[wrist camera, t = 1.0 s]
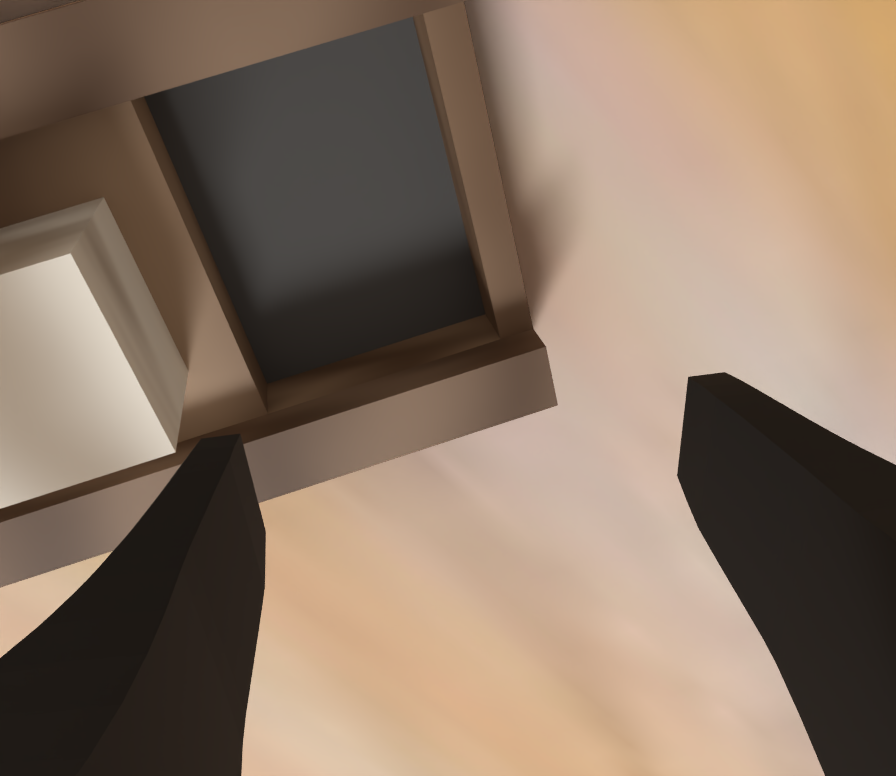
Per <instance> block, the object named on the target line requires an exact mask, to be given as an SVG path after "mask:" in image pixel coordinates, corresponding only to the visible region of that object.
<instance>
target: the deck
mask: <svg viewBox="0 0 896 776" xmlns="http://www.w3.org/2000/svg"><path fill="white" fill-rule="evenodd" d="M464 1H467V0H79V1H76V2H72V3H69V4H65V5H62V6H58V7H55V8H51V9H48V10H45V11H41V12H38V13H34V14H31V15H27V16H24V17H20V18H17V19H13V20H10V21H6V22H3V23H0V228H3V227H7V226H10V225H13V224H16V223H20V222H23V221H26V220H30V219H33V218H36V217H40V216H43V215H46V214H49V213H53V212H56V211H59V210H63V209H66V208H69V207H73V206H76V205H79V204H82V203H86V202H89V201H92V200H96V199H99V198H102V197H104V199H105V201H106V203H107V205H108V207H109V209H110V211H111V213H112V215H113V217H114V219H115V221H116V223H117V225H118V227H119V229H120V232H121V234H122V236H123V238H124V240H125V242H126V244H127V246H128V248H129V250H130V252H131V254H132V256H133V258H134V260H135V262H136V264H137V267H138V269H139V271H140V273H141V275H142V277H143V279H144V281H145V283H146V285H147V287H148V289H149V291H150V293H151V295H152V297H153V300H154V302H155V304H156V306H157V308H158V310H159V312H160V314H161V316H162V318H163V320H164V322H165V324H166V326H167V328H168V330H169V332H170V335H171V337H172V339H173V341H174V343H175V345H176V347H177V349H178V351H179V353H180V355H181V357H182V359H183V361H184V363H185V365H186V368H187V370H188V377H187V384H186V390H185V396H184V403H183V409H182V415H181V422H180V428H179V434H178V440H177V447H176V452H175V453H172V454H169V455H166V456H163V457H160V458H157V459H153V460H150V461H147V462H144V463H141V464H138V465H135V466H132V467H129V468H125V469H122V470H119V471H116V472H113V473H110V474H107V475H104V476H101V477H98V478H94V479H91V480H88V481H85V482H82V483H79V484H76V485H73V486H70V487H66V488H63V489H60V490H57V491H54V492H51V493H48V494H45V495H42V496H38V497H35V498H32V499H29V500H26V501H23V502H20V503H17V504H14V505H10V506H7V507H4V508H1V509H0V587H3V586H6V585H9V584H12V583H16V582H19V581H22V580H25V579H28V578H31V577H34V576H37V575H40V574H43V573H46V572H49V571H52V570H55V569H58V568H61V567H64V566H67V565H71V564H74V563H77V562H80V561H83V560H86V559H89V558H92V557H95V556H98V555H101V554H104V553H107V552H110V551H113V550H115V548H116V547H117V546H118V545H119V544H120V543H121V542H122V540H123V539H124V538H125V537H126V536H127V535H128V533H129V532H130V531H131V530H132V528H133V527H134V526H135V525H136V523H137V522H138V521H139V520H140V518H141V517H142V516H143V515H144V513H145V512H146V511H147V509H148V508H149V507H150V506H151V504H152V503H153V502H154V501H155V499H156V498H157V497H158V495H159V494H160V493H161V491H162V490H163V489H164V487H165V486H166V485H167V483H168V482H169V481H170V479H171V478H172V477H173V475H174V474H175V472H176V471H177V470H178V468H179V467H180V466H181V464H182V463H183V462H184V460H185V459H186V457H187V456H188V455H189V453H190V452H191V451H192V449H193V448H194V447H195V445H196V444H197V443H198V442H199V441H200V439H201V438H209V437H217V436H225V435H233V434H241V438H242V442H243V445H244V449H245V453H246V457H247V461H248V465H249V469H250V473H251V476H252V480H253V484H254V488H255V492H256V496H257V500H258V503H260V502H263V501H266V500H269V499H272V498H275V497H279V496H282V495H285V494H288V493H291V492H294V491H297V490H300V489H303V488H306V487H309V486H312V485H315V484H318V483H321V482H324V481H327V480H331V479H334V478H337V477H340V476H343V475H346V474H349V473H352V472H355V471H358V470H361V469H364V468H367V467H370V466H373V465H376V464H379V463H383V462H386V461H389V460H392V459H395V458H398V457H401V456H404V455H407V454H410V453H413V452H416V451H419V450H422V449H425V448H428V447H431V446H435V445H438V444H441V443H444V442H447V441H450V440H453V439H456V438H459V437H462V436H465V435H468V434H471V433H474V432H477V431H480V430H483V429H486V428H490V427H493V426H496V425H499V424H502V423H505V422H508V421H511V420H514V419H517V418H520V417H523V416H526V415H529V414H532V413H535V412H538V411H542V410H545V409H548V408H551V407H554V406H557V405H558V404H557V399H556V394H555V389H554V384H553V379H552V374H551V370H550V365H549V360H548V355H547V350H546V346H545V345H544V343H543V342H542V341H541V339H540V338H539V336H538V335H537V333H536V332H535V331H534V329H533V326H532V321H531V316H530V312H529V307H528V302H527V297H526V293H525V288H524V283H523V278H522V274H521V269H520V264H519V260H518V255H517V250H516V245H515V241H514V236H513V231H512V226H511V222H510V217H509V212H508V208H507V203H506V198H505V193H504V189H503V184H502V179H501V174H500V170H499V165H498V160H497V156H496V151H495V146H494V141H493V137H492V132H491V127H490V122H489V118H488V113H487V108H486V104H485V99H484V94H483V89H482V85H481V80H480V75H479V71H478V66H477V61H476V56H475V52H474V47H473V42H472V37H471V33H470V28H469V23H468V19H467V14H466V9H465V4H464Z"/></svg>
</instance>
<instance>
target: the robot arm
mask: <svg viewBox="0 0 896 776" xmlns="http://www.w3.org/2000/svg"><path fill="white" fill-rule="evenodd" d="M677 476H678V479H679V482H680V484H681V487H682V489H683V492H684V494H685V497H686V500H687V502H688V505H689V507H690V509H691V512H692V514H693V516H694V519H695V521H696V523H697V526H698V528H699V530H700V531H701V533H702V535H703V537H704V539H705V540H706V542H707V544H708V546H709V547H710V549H711V551H712V553H713V554H714V556H715V558H716V559H717V561H718V563H719V565H720V566H721V568H722V570H723V571H724V573H725V575H726V577H727V578H728V580H729V582H730V583H731V585H732V587H733V588H734V590H735V592H736V593H737V595H738V597H739V599H740V600H741V602H742V604H743V605H744V607H745V609H746V610H747V612H748V614H749V616H750V617H751V619H752V621H753V622H754V624H755V626H756V627H757V629H758V631H759V632H760V634H761V636H762V638H763V639H764V641H765V643H766V645H767V647H768V649H769V651H770V653H771V654H772V656H773V658H774V660H775V662H776V664H777V666H778V668H779V671H780V673H781V675H782V677H783V679H784V682H785V684H786V686H787V688H788V691H789V693H790V695H791V697H792V699H793V702H794V704H795V706H796V708H797V710H798V713H799V715H800V717H801V719H802V722H803V724H804V726H805V729H806V731H807V734H808V736H809V738H810V741H811V743H812V745H813V748H814V750H815V753H816V755H817V757H818V760H819V762H820V764H821V767H822V769H823V771H824V774H825V776H896V465H895V464H893V463H891V462H889V461H887V460H885V459H883V458H881V457H879V456H877V455H875V454H873V453H871V452H868V451H866V450H864V449H862V448H860V447H858V446H857V445H855V444H853V443H851V442H849V441H847V440H845V439H843V438H841V437H840V436H838V435H836V434H834V433H832V432H830V431H829V430H827V429H825V428H823V427H821V426H820V425H818V424H816V423H814V422H812V421H811V420H809V419H807V418H805V417H804V416H802V415H800V414H798V413H797V412H795V411H793V410H792V409H790V408H788V407H786V406H785V405H783V404H781V403H780V402H778V401H776V400H774V399H773V398H771V397H769V396H767V395H766V394H764V393H762V392H761V391H759V390H757V389H755V388H754V387H752V386H750V385H748V384H746V383H745V382H743V381H741V380H739V379H737V378H735V377H733V376H731V375H729V374H727V373H725V372H723V373H715V374H707V375H700V376H692V377H688V384H687V393H686V402H685V411H684V420H683V429H682V438H681V447H680V456H679V465H678V473H677ZM265 542H266V531H265V527H264V523H263V519H262V515H261V511H260V508H259V504H258V500H257V496H256V492H255V488H254V484H253V480H252V476H251V473H250V469H249V465H248V461H247V457H246V453H245V449H244V445H243V442H242V438H241V434H233V435H225V436H217V437H209V438H201V439H200V441H199V442H198V443H197V444H196V445H195V447H194V448H193V449H192V451H191V452H190V453H189V455H188V456H187V457H186V459H185V460H184V462H183V463H182V464H181V466H180V467H179V468H178V470H177V471H176V472H175V474H174V475H173V477H172V478H171V479H170V481H169V482H168V483H167V485H166V486H165V487H164V489H163V490H162V491H161V493H160V494H159V495H158V497H157V498H156V499H155V501H154V502H153V503H152V504H151V506H150V507H149V508H148V509H147V511H146V512H145V513H144V515H143V516H142V517H141V518H140V520H139V521H138V522H137V523H136V525H135V526H134V527H133V528H132V530H131V531H130V532H129V533H128V535H127V536H126V537H125V538H124V539H123V540H122V542H121V543H120V544H119V545H118V546H117V547H116V548H115V550H114V551H113V552H112V553H111V554H110V555H109V556H108V558H107V559H106V560H105V561H104V562H103V563H102V564H101V566H100V567H99V568H98V569H97V570H96V571H95V572H94V573H93V574H92V575H91V576H90V578H89V579H88V580H87V581H86V582H85V583H84V584H83V585H82V586H81V587H80V588H79V589H78V590H77V591H76V592H75V593H74V594H73V595H72V596H71V597H69V598H68V599H67V600H66V601H65V602H64V603H63V604H62V605H61V606H60V607H59V608H58V609H57V610H56V611H55V612H54V613H53V614H52V615H51V616H49V617H48V618H47V619H46V620H45V621H44V622H43V623H42V624H41V625H39V626H38V627H37V628H36V629H35V630H34V631H32V632H31V633H30V634H29V635H28V636H26V637H25V638H24V639H23V640H22V641H20V642H19V643H18V644H17V645H16V646H14V647H13V648H12V649H11V650H10V651H8V652H7V653H6V654H5V655H3V656H2V657H1V658H0V776H241V769H242V747H243V736H244V727H245V717H246V710H247V703H248V697H249V690H250V684H251V677H252V670H253V664H254V657H255V651H256V644H257V638H258V631H259V624H260V617H261V610H262V603H263V596H264V589H265Z"/></svg>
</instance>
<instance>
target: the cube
mask: <svg viewBox="0 0 896 776" xmlns="http://www.w3.org/2000/svg"><path fill="white" fill-rule="evenodd" d="M187 377H188V370H187V368H186V365H185V363H184V361H183V359H182V357H181V355H180V353H179V351H178V349H177V347H176V345H175V343H174V341H173V339H172V337H171V335H170V332H169V330H168V328H167V326H166V324H165V322H164V320H163V318H162V316H161V314H160V312H159V310H158V308H157V306H156V304H155V302H154V300H153V297H152V295H151V293H150V291H149V289H148V287H147V285H146V283H145V281H144V279H143V277H142V275H141V273H140V271H139V269H138V267H137V264H136V262H135V260H134V258H133V256H132V254H131V252H130V250H129V248H128V246H127V244H126V242H125V240H124V238H123V236H122V234H121V232H120V229H119V227H118V225H117V223H116V221H115V219H114V217H113V215H112V213H111V211H110V209H109V207H108V205H107V203H106V201H105V199H104V197H102V198H99V199H96V200H92V201H89V202H86V203H82V204H79V205H76V206H73V207H69V208H66V209H63V210H59V211H56V212H53V213H49V214H46V215H43V216H40V217H36V218H33V219H30V220H26V221H23V222H20V223H16V224H13V225H10V226H7V227H3V228H0V509H1V508H4V507H7V506H10V505H14V504H17V503H20V502H23V501H26V500H29V499H32V498H35V497H38V496H42V495H45V494H48V493H51V492H54V491H57V490H60V489H63V488H66V487H70V486H73V485H76V484H79V483H82V482H85V481H88V480H91V479H94V478H98V477H101V476H104V475H107V474H110V473H113V472H116V471H119V470H122V469H125V468H129V467H132V466H135V465H138V464H141V463H144V462H147V461H150V460H153V459H157V458H160V457H163V456H166V455H169V454H172V453H175V452H176V447H177V440H178V434H179V428H180V422H181V415H182V409H183V403H184V396H185V390H186V384H187Z"/></svg>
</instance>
